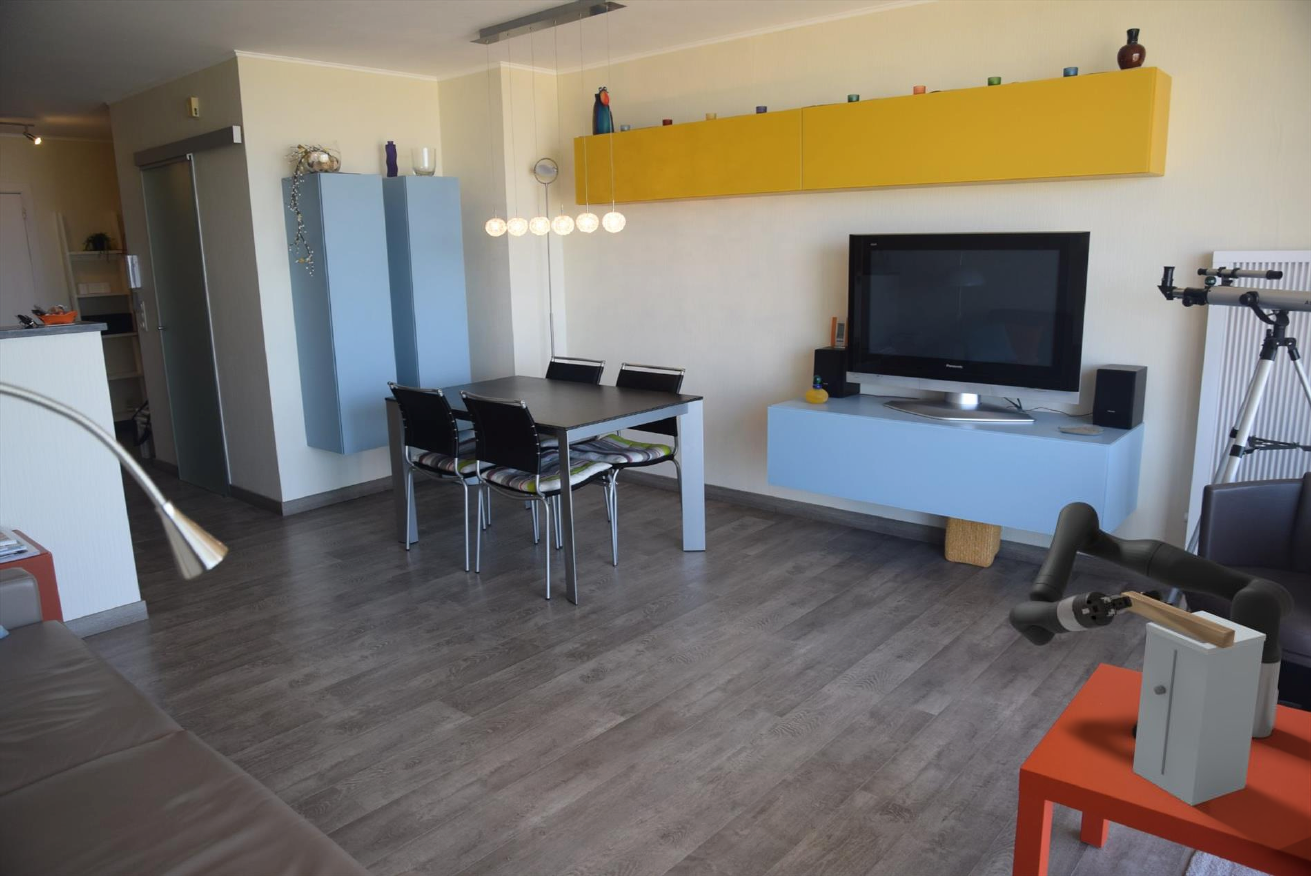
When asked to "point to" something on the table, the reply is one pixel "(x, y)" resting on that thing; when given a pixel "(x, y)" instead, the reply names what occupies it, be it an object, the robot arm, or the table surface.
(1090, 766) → the table surface
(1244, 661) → the light grey cabinet
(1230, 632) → the oak batten
